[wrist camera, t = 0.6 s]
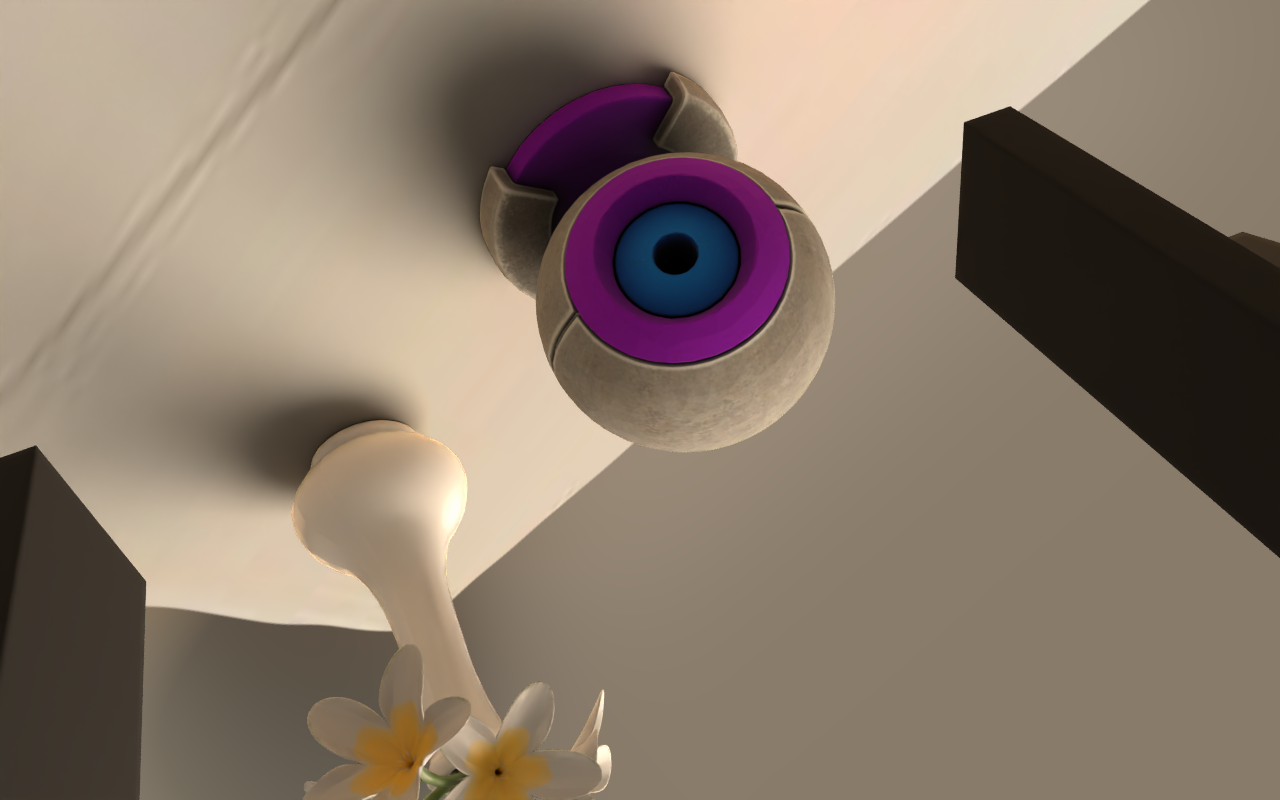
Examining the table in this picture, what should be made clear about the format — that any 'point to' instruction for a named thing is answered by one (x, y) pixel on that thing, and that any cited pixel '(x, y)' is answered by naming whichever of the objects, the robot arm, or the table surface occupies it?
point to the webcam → (661, 267)
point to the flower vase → (422, 639)
